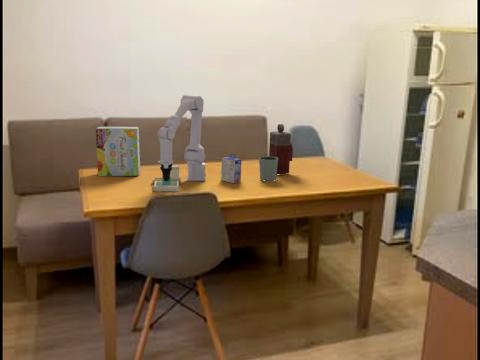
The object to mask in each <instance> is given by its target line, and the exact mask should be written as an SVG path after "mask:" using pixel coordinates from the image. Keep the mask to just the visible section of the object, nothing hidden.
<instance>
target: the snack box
mask: <svg viewBox="0 0 480 360" xmlns="http://www.w3.org/2000/svg"><path fill="white" fill-rule="evenodd" d="M139 130H140V129H139V126H98V127H96V128H95V140H96V141H95V142H96V161H97V162H96V163H97V164H96V165H97V177H136V176H137V177H138V176H139V175H140V174H141V159H140V158H141V157H140V156H141V155H140V131H139Z"/></svg>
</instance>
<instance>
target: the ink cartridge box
mask: <svg viewBox="0 0 480 360" xmlns="http://www.w3.org/2000/svg"><path fill="white" fill-rule="evenodd" d="M236 156H237V153H233V152H232V153H230V155H229V156H226V157H222V158H221V167H220V168H221V171H220V173H221V174H220V181H223V182H226V183H227V182H228V183H232V184H238V183H242V182H241V181H242V159H240V158H236ZM237 182H238V183H237Z"/></svg>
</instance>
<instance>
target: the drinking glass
mask: <svg viewBox="0 0 480 360" xmlns="http://www.w3.org/2000/svg"><path fill="white" fill-rule="evenodd" d="M258 162H259V180H260V179H261V180H265V181H274V180H276V181H277V177H278V175H277V164H278V158H277V157H271V156H269V155H268V156H267V155H266V156H260V157H258ZM261 180H260V181H261ZM265 181H264V182H265ZM274 182H275V181H274Z"/></svg>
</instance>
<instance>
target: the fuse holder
mask: <svg viewBox="0 0 480 360" xmlns="http://www.w3.org/2000/svg"><path fill="white" fill-rule="evenodd" d="M155 181H162V176H161V177H159V176H158V177H156V176H155V177H153V178H152V186H154V184H155ZM171 181H179V186H181V185H182V177H180V176H179V179H171Z"/></svg>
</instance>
